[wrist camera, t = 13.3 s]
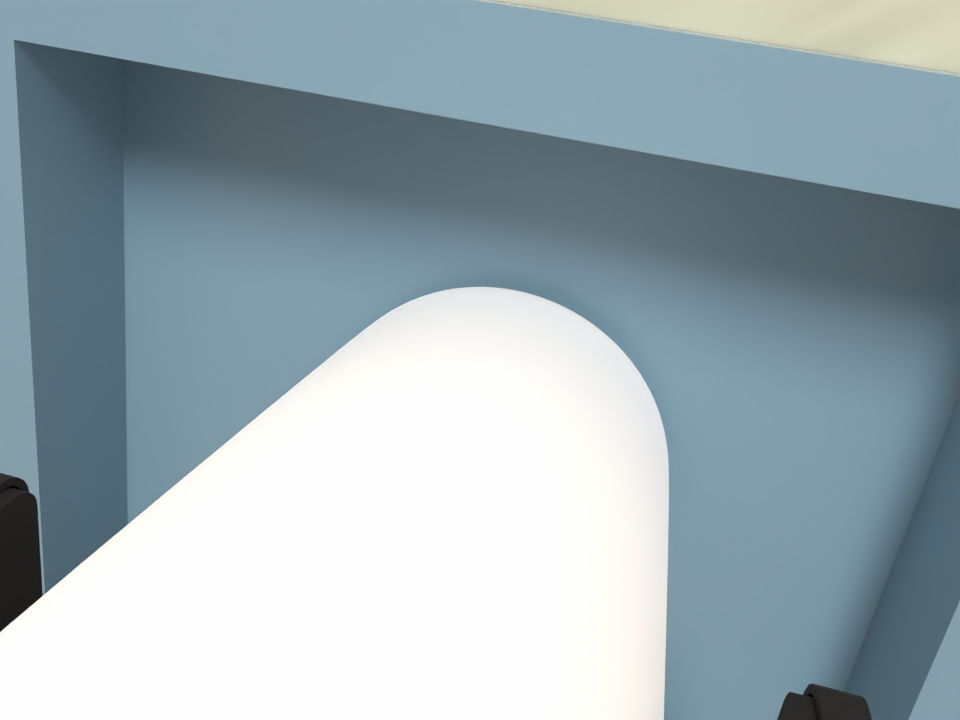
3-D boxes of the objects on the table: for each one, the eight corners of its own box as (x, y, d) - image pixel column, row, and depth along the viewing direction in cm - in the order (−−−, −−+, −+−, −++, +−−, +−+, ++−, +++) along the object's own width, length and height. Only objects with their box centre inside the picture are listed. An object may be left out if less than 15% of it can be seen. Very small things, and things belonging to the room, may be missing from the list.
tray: (1163, 106, 13) (1316, 133, 10) (854, 826, 19) (888, 990, 16) (70, -67, 16) (-87, -89, 13) (92, 612, 21) (-13, 715, 18)
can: (363, 603, 18) (-141, 1454, 7) (297, 298, 16) (-522, 791, 5) (685, 598, 17) (696, 1689, 5) (652, 259, 15) (565, 853, 4)
